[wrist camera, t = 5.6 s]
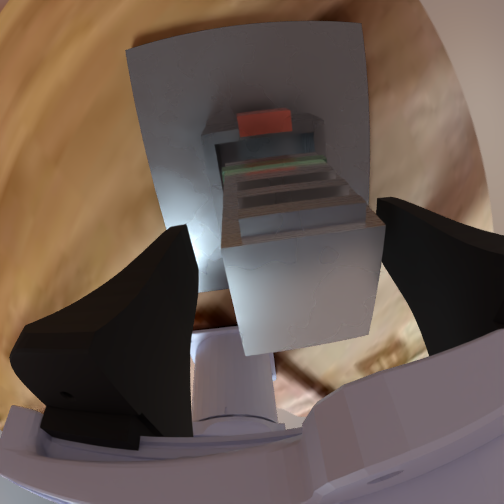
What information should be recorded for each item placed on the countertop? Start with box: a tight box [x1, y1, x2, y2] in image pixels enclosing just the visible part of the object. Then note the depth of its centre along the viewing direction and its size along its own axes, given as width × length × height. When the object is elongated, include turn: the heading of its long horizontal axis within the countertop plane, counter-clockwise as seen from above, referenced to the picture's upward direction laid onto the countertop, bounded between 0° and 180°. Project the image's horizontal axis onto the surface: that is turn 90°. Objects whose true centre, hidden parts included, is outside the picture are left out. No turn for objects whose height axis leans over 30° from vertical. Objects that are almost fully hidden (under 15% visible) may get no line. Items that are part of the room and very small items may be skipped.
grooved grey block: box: [221, 152, 386, 356], centre depth 11 cm, size 5×4×7 cm
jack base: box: [125, 21, 370, 293], centre depth 17 cm, size 18×14×5 cm
